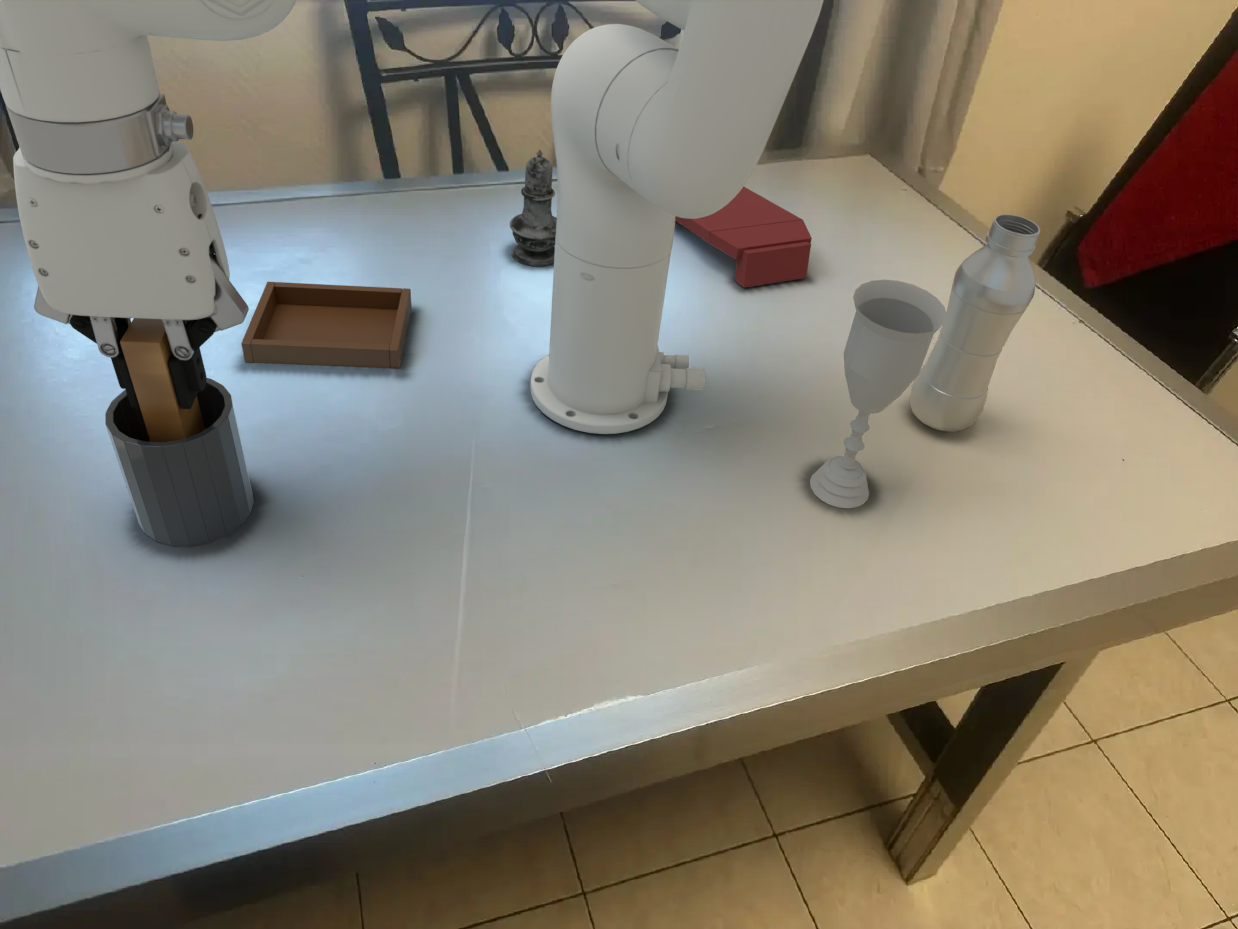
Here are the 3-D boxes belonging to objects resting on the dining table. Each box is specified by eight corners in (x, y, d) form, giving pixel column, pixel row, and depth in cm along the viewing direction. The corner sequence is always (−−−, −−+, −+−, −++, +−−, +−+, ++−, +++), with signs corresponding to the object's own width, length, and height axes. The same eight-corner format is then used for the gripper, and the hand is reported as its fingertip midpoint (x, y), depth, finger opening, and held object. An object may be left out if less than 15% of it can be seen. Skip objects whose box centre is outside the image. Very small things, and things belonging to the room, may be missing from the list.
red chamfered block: (630, 217, 122) (727, 289, 103) (631, 179, 119) (732, 246, 101) (713, 207, 127) (821, 275, 108) (716, 170, 124) (827, 232, 105)
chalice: (879, 525, 78) (950, 341, 66) (797, 508, 78) (852, 323, 67) (879, 468, 83) (944, 289, 71) (802, 452, 84) (853, 272, 72)
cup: (264, 479, 75) (244, 376, 69) (240, 553, 69) (215, 448, 63) (159, 476, 74) (127, 371, 68) (125, 550, 68) (87, 444, 62)
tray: (411, 310, 95) (410, 288, 93) (399, 373, 87) (398, 350, 85) (271, 304, 94) (267, 281, 92) (245, 367, 86) (240, 343, 84)
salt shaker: (572, 253, 107) (579, 149, 99) (541, 273, 103) (546, 167, 95) (529, 236, 109) (533, 133, 101) (498, 255, 105) (499, 149, 97)
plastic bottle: (925, 389, 93) (998, 198, 80) (987, 423, 90) (1073, 230, 77) (889, 414, 89) (959, 218, 76) (952, 451, 86) (1037, 253, 73)
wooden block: (221, 490, 73) (176, 311, 62) (209, 523, 70) (159, 343, 60) (188, 489, 73) (137, 310, 62) (175, 523, 70) (119, 341, 59)
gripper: (259, 113, 56) (300, 368, 68) (-31, 94, 54) (63, 359, 67) (228, 168, 50) (278, 435, 63) (-98, 149, 49) (19, 427, 61)
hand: (167, 393), depth 64 cm, fingers closed on wooden block, 2 cm apart
